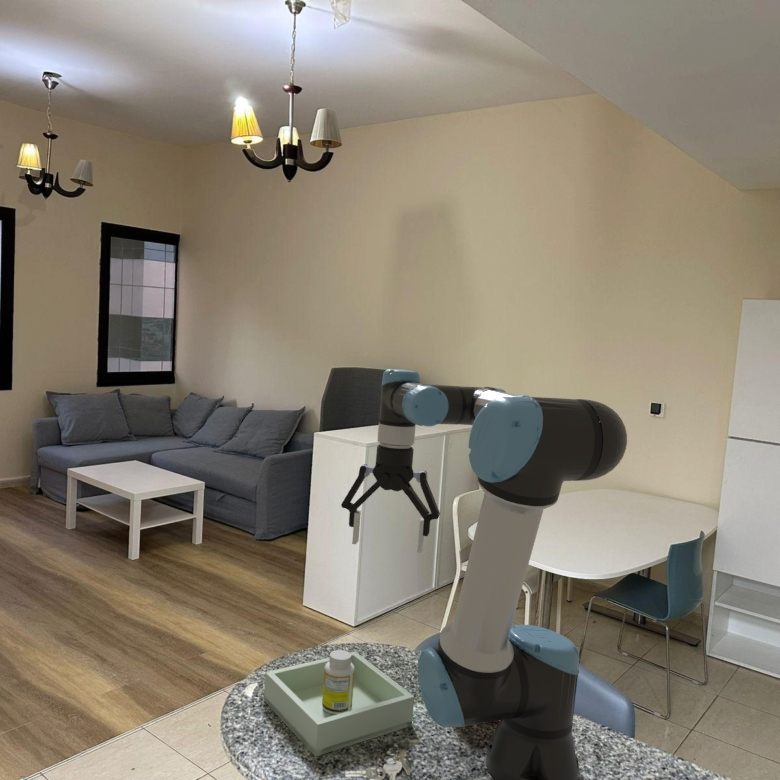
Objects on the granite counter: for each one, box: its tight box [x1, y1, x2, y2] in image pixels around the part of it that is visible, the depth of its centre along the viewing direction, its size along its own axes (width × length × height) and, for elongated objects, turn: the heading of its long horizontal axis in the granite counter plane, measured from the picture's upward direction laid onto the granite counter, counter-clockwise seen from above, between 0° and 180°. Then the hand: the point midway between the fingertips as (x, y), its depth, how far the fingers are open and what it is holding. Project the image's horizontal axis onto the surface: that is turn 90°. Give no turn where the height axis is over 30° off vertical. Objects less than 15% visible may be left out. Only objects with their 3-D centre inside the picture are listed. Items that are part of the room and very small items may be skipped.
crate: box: [263, 651, 415, 757], centre depth 131 cm, size 20×20×6 cm
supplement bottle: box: [322, 649, 355, 715], centre depth 130 cm, size 6×6×10 cm
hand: (387, 546), depth 146 cm, fingers open, 13 cm apart
